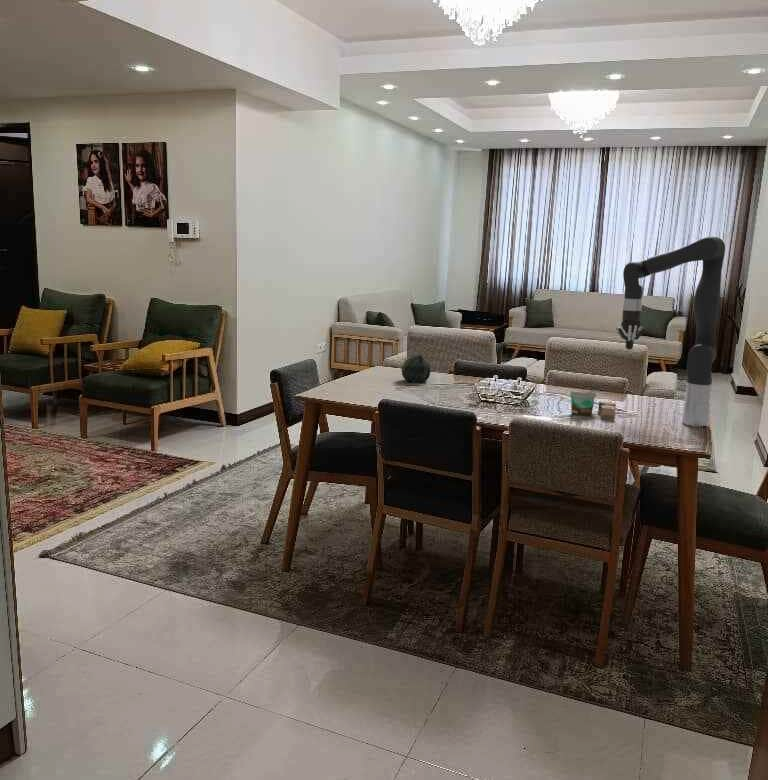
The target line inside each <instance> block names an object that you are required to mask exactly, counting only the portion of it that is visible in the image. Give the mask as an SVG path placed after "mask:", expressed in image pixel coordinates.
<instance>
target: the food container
mask: <svg viewBox="0 0 768 780" xmlns="http://www.w3.org/2000/svg"><path fill="white" fill-rule="evenodd" d="M569 396H570V398H571V399H570V401H571V405H570V406H571V407H570V408H571V410H570V411H571V413H570V414H571V415H575V416H581V417H582V416H583V417H584V416H585V417H586V416H587V417H589V416H591V415H593V409H594V404H595V398H597V391H596V390H595V389H592V390H591V391H578V392H577V391H573V390H572V391H571V392H570V394H569Z"/></svg>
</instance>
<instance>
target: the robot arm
mask: <svg viewBox="0 0 768 780" xmlns="http://www.w3.org/2000/svg"><path fill="white" fill-rule="evenodd" d="M725 253H726V244H725V242H724V241H723V239H721V238H720V237H719V236H718V237H717V236H705V237H702V238H700V239H698V240H696V241H694V242H692V243H690V244H688V245H685V246H684V247H683V246H682V247H680V248H678V249H674V250H671V251H667V252H664V253H660V254H657V255H653V256H651V257H649V258H647V259H644V260H641V261H630V262H628V263H626V264H625V266H624V268H623V271H622V272H623V275H622V277H623V283H624V288H625V289H624V299H623V306H622V318H621V324H620V325H619V327H616V328H615V330H616V332H617V333H618V335H619V336H620V338H621V339H623V340H625V349H626V350H630V351H631V350H632V349H633V348H634V341H636V340H639V338H640V337H641V336H642V335H643V333H645V332H646V328H645V327H643V326H642V323H641V320H642V306H643V303H642V302H643V301H642V300H643V286H642V285H641V284H640V279H643V278H646V277H648V276H651V275H653V274H658V273H661V272H665V271H668V270H671V269H674V268H675V267H678V266H680V265H683V264H687V263H692V262H699V261H702V270H701V271H702V272H701V276H700V279H699V281H698V283H697V286H696V289H695V293H694V300H693V315H694V320H695V326H696V333H695V334H696V337H695V343H694V345H693V347H691V349H690V350H689V352H688V355H687V361H686V362H687V364H686V387H685V393H684V394H685V395H684V403H683V410H682V411H683V414H682V421H681V423H682V424H683V423H684V424H683V425H685V426H689V427H693V428H695V427H696V428H697V427H703V426H706V427H707V428H708V425H709V424H708V423H709V416H710V415H709V414H710V407H711V404H710V400H711V399H710V397H711V391H712V390H711V389H712V384H713V377H712V368H713V363H714V362H715V360H716V358H717V356H718V355H717V353H718V352H717V350H718V349H717V329H718V328H717V327H718V320H719V311H720V301H721V284H722V269H723V265H724V258H725Z"/></svg>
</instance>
